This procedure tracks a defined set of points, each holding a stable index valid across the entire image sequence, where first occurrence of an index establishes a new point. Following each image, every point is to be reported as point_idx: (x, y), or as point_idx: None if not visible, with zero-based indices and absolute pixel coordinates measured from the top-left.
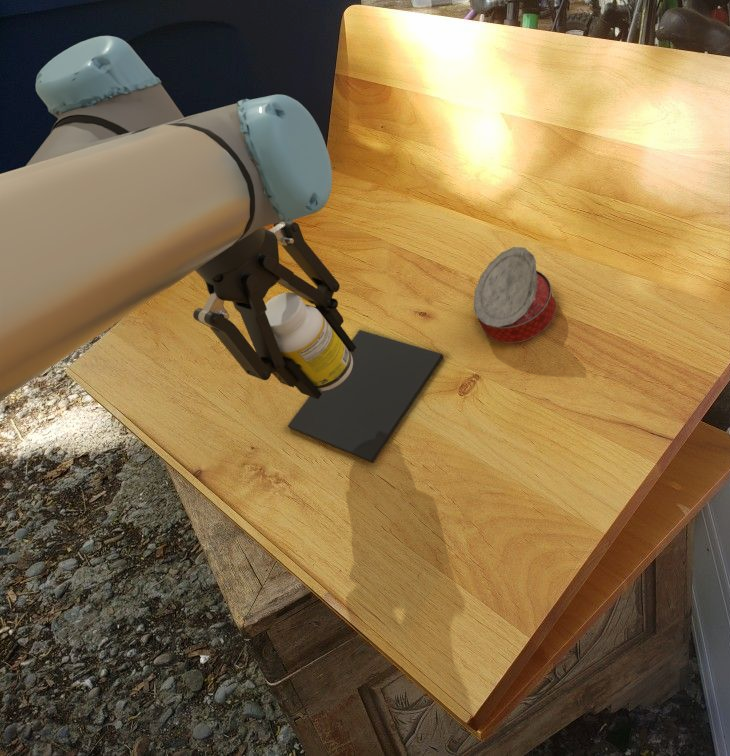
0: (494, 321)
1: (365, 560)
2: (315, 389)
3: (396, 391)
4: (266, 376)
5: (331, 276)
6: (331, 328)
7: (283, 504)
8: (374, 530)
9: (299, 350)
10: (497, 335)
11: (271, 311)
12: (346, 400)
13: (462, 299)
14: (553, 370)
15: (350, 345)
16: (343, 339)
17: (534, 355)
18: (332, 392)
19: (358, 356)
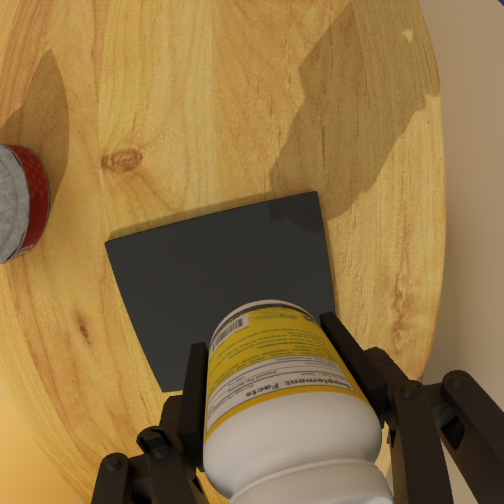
0: (19, 186)
1: (405, 100)
2: (330, 323)
3: (198, 255)
4: (459, 375)
5: (98, 490)
6: (210, 396)
7: (416, 260)
8: (378, 113)
9: (352, 393)
10: (39, 182)
11: None
12: None
13: (36, 294)
14: (53, 82)
15: (198, 352)
16: (201, 367)
17: (44, 121)
18: None
19: None
